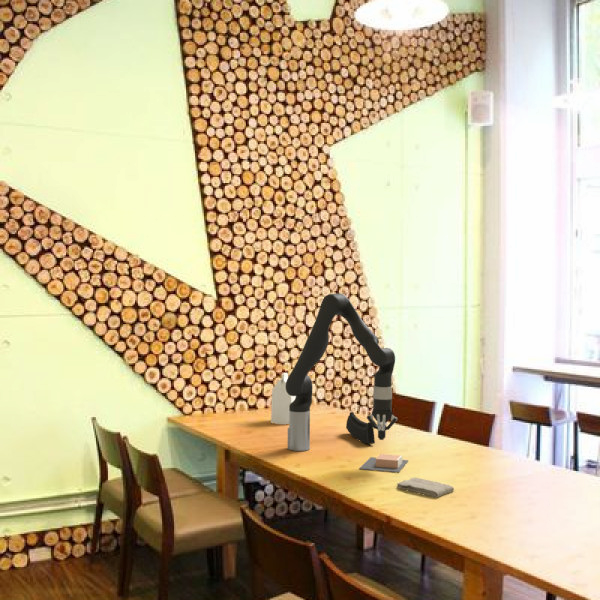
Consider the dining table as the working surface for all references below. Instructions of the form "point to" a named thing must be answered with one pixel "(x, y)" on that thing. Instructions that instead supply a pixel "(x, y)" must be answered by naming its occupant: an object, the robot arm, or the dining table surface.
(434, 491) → the washcloth
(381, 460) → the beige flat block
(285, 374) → the milk
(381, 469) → the mat
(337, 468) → the dining table surface
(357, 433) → the magazine
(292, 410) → the robot arm
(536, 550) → the dining table surface
